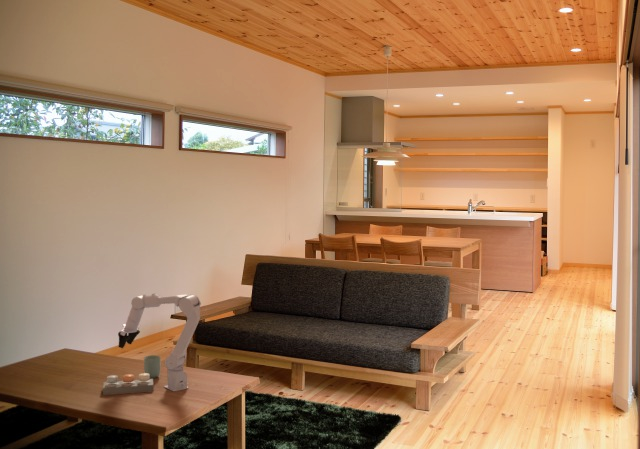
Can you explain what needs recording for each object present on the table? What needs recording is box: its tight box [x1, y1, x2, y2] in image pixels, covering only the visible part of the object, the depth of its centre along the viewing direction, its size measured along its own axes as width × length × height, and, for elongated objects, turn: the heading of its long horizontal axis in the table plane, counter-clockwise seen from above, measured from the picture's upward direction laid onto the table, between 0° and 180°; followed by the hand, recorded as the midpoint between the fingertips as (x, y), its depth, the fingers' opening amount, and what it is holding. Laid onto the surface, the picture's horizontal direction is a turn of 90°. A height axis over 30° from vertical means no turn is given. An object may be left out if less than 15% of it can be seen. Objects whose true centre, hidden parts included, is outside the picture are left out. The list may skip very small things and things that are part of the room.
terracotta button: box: [122, 373, 135, 382], centre depth 312 cm, size 5×5×2 cm
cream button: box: [138, 372, 151, 381], centre depth 313 cm, size 5×5×2 cm
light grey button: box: [106, 374, 119, 384], centre depth 310 cm, size 5×5×2 cm
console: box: [102, 378, 154, 396], centre depth 312 cm, size 22×10×3 cm, turn 105°
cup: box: [143, 354, 162, 379], centre depth 332 cm, size 8×8×10 cm
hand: (124, 345), depth 322 cm, fingers open, 7 cm apart
